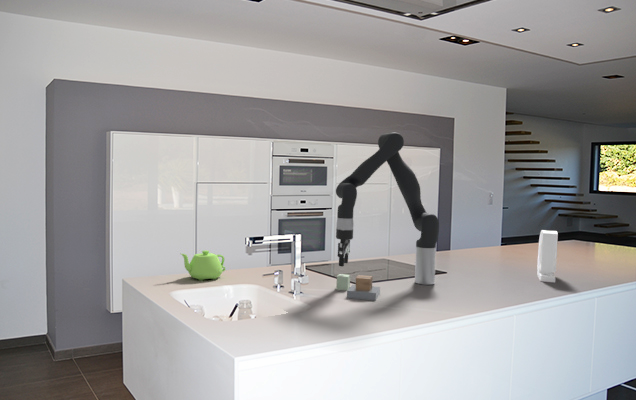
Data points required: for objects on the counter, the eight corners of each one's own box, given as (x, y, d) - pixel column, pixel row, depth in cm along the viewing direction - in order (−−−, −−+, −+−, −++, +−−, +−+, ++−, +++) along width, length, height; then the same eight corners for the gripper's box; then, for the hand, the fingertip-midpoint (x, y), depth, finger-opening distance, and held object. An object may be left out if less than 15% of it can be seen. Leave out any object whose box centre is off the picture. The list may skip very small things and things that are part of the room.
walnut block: (358, 286, 224) (358, 275, 224) (372, 287, 223) (372, 276, 222) (355, 289, 218) (355, 277, 218) (369, 290, 217) (370, 279, 217)
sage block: (338, 287, 236) (339, 274, 236) (349, 288, 235) (350, 274, 235) (336, 289, 231) (336, 276, 231) (347, 290, 230) (347, 277, 230)
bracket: (540, 281, 260) (543, 231, 259) (536, 273, 280) (539, 226, 279) (555, 282, 258) (558, 232, 257) (550, 274, 278) (553, 227, 277)
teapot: (184, 283, 235) (184, 254, 235) (175, 277, 248) (175, 249, 247) (230, 279, 247) (231, 251, 246) (219, 273, 259) (219, 247, 259)
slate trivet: (352, 291, 228) (352, 284, 228) (379, 293, 225) (380, 286, 225) (346, 297, 216) (347, 290, 216) (375, 300, 213) (375, 293, 213)
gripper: (340, 226, 239) (338, 261, 240) (332, 229, 226) (331, 266, 227) (356, 227, 238) (354, 262, 238) (349, 230, 224) (348, 268, 225)
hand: (343, 264), depth 233 cm, fingers open, 8 cm apart
